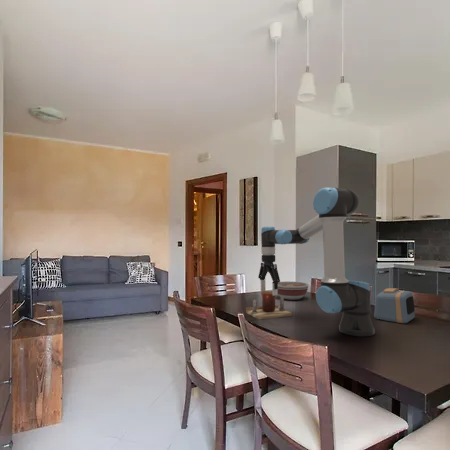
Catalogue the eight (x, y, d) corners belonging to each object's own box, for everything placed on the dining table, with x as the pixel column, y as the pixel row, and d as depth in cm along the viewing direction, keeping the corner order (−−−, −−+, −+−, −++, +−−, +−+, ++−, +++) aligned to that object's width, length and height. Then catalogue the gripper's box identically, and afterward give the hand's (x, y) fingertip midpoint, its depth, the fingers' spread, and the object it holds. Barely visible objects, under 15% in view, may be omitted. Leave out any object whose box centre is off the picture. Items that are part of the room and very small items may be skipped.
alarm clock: (407, 325, 168) (406, 292, 168) (372, 319, 179) (372, 288, 179) (416, 318, 180) (415, 288, 180) (383, 313, 191) (382, 285, 191)
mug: (261, 308, 196) (261, 290, 197) (277, 309, 194) (277, 291, 194) (258, 313, 185) (258, 294, 185) (275, 314, 183) (275, 295, 183)
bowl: (274, 295, 247) (274, 281, 248) (306, 295, 244) (306, 281, 244) (274, 301, 225) (274, 286, 225) (310, 302, 222) (310, 286, 222)
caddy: (292, 315, 186) (292, 300, 186) (258, 319, 179) (258, 302, 179) (277, 309, 201) (277, 295, 201) (245, 312, 193) (245, 297, 194)
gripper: (286, 255, 180) (286, 296, 179) (263, 253, 203) (264, 289, 203) (273, 255, 177) (274, 297, 177) (252, 253, 201) (252, 290, 200)
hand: (268, 293), depth 190 cm, fingers open, 13 cm apart
